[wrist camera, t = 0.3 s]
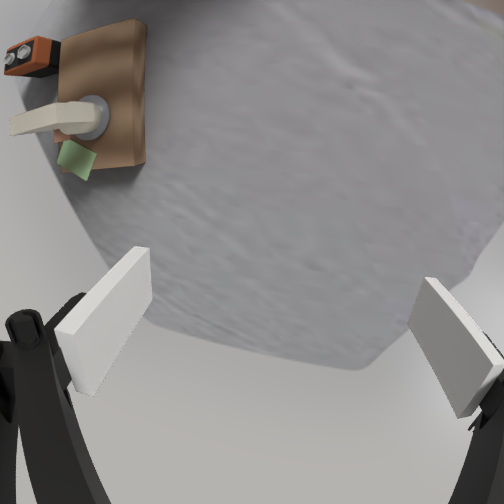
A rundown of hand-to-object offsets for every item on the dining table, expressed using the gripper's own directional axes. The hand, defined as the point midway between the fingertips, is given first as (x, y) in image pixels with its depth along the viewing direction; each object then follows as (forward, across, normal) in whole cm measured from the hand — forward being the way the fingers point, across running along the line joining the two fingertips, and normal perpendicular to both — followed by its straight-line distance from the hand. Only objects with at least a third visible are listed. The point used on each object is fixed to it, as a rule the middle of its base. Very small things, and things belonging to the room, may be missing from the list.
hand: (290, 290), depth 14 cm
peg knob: (+23, -26, +8) cm, 36 cm away
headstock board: (+28, -25, +11) cm, 39 cm away
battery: (+28, -36, +18) cm, 49 cm away
